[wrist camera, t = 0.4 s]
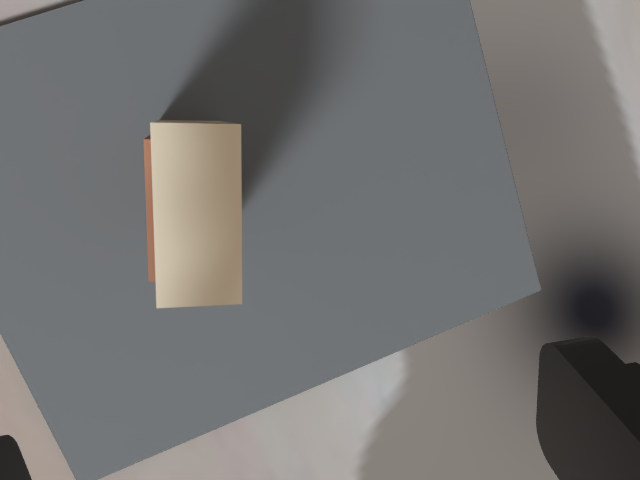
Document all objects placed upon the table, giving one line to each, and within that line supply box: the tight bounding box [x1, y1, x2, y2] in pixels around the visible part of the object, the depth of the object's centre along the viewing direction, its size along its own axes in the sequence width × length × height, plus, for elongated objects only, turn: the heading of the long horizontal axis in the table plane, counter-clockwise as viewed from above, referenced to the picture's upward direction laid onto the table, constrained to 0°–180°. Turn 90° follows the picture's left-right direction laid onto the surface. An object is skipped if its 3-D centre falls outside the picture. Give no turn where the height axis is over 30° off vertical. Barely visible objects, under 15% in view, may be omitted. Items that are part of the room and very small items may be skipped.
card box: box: [143, 120, 242, 308], centre depth 27 cm, size 3×6×12 cm, turn 179°
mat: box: [0, 0, 541, 480], centre depth 34 cm, size 24×30×1 cm
